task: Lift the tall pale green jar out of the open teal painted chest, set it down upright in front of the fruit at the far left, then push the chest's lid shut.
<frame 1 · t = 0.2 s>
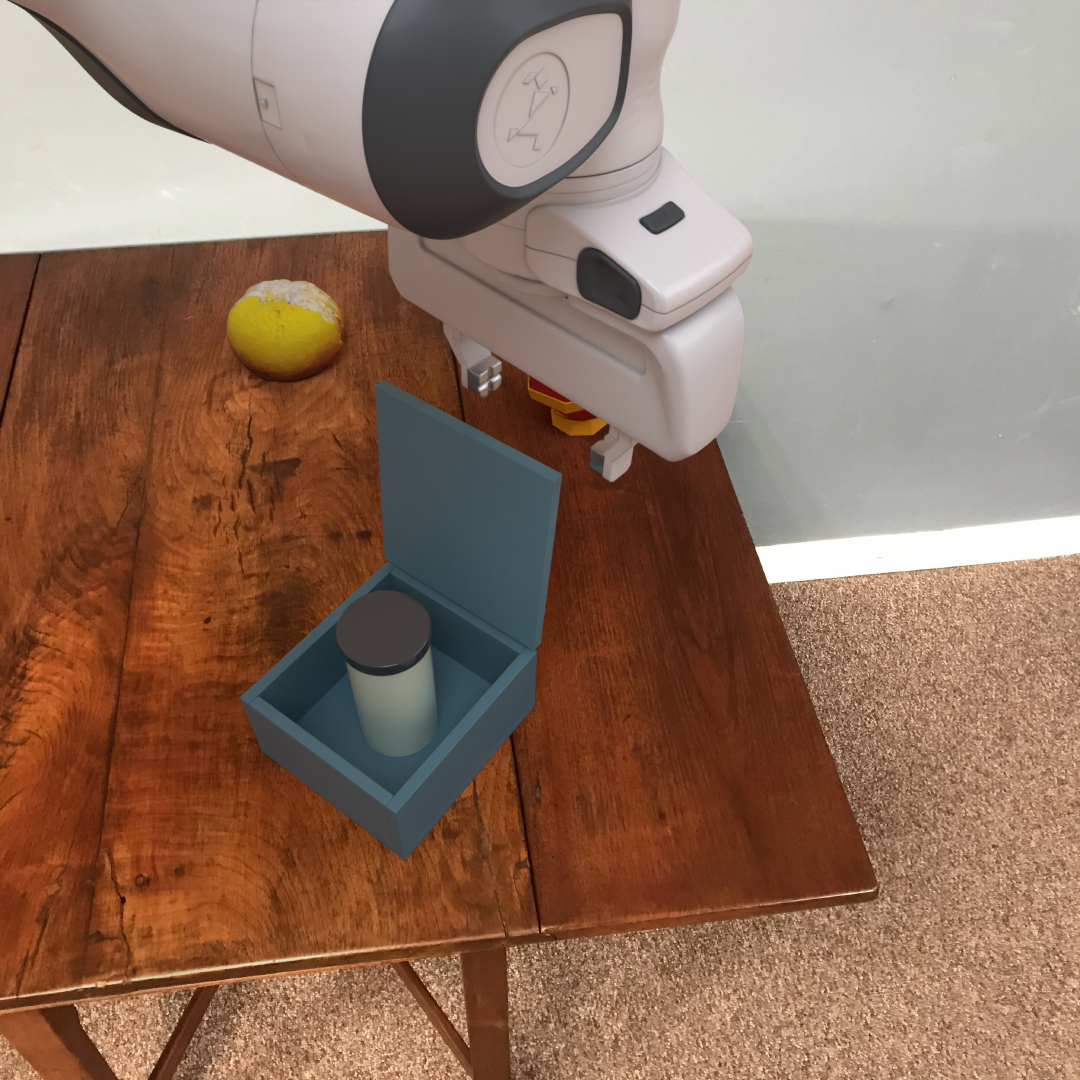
hand: (543, 427, 51), 22 cm above the table, tool pointing down, fingers open, 8 cm apart
chest: (400, 728, 64), on the table
potion bottle: (579, 417, 85), on the table
lid: (462, 521, 57), point 14 cm above the table, hinge at 95.0°
fruit: (292, 350, 90), on the table
jar: (399, 722, 63), point 1 cm above the table, touching chest
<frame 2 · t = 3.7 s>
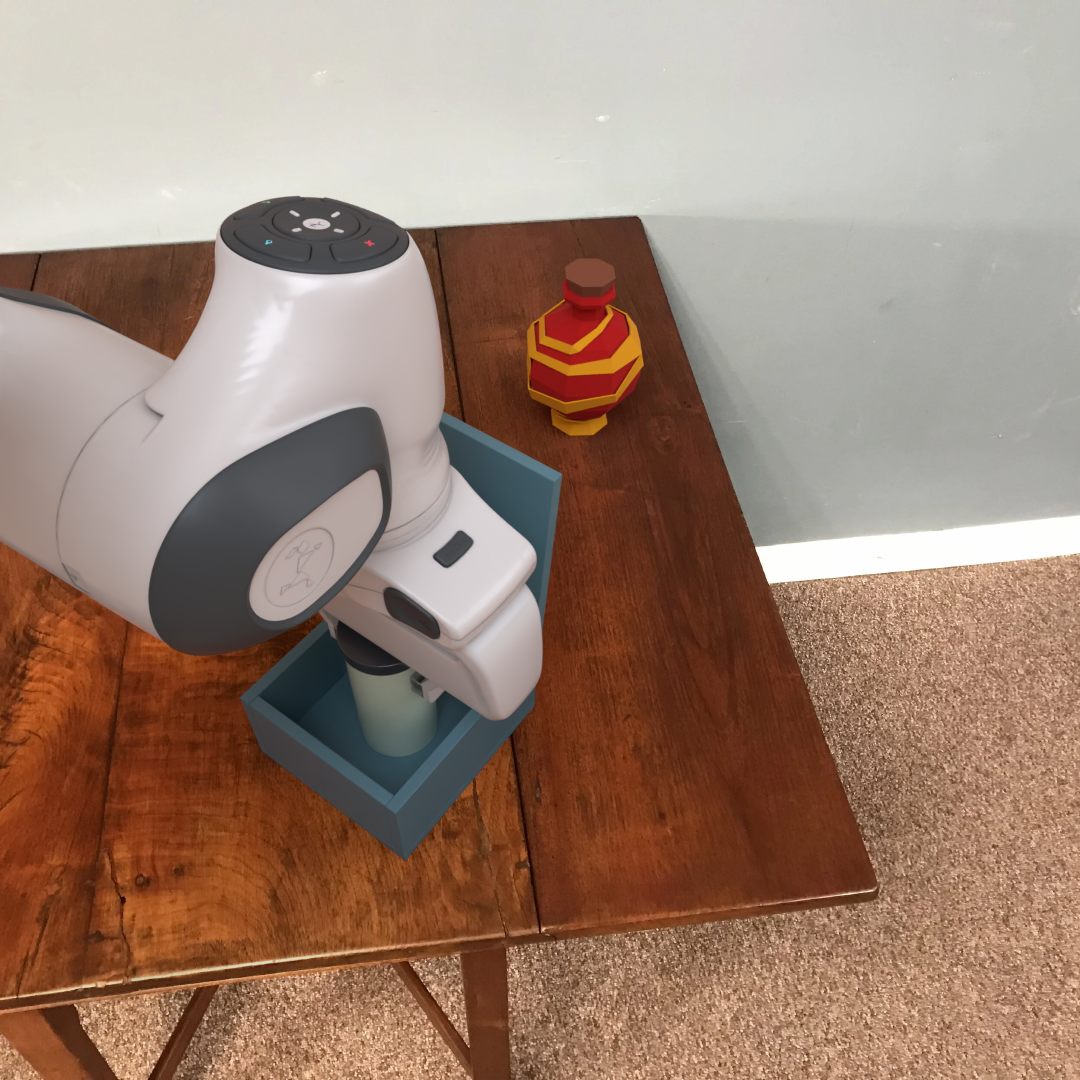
hand: (390, 662, 57), 8 cm above the table, tool pointing down, fingers closed on jar, 5 cm apart
jar: (399, 722, 63), point 1 cm above the table, touching chest, gripper
everything else where it was.
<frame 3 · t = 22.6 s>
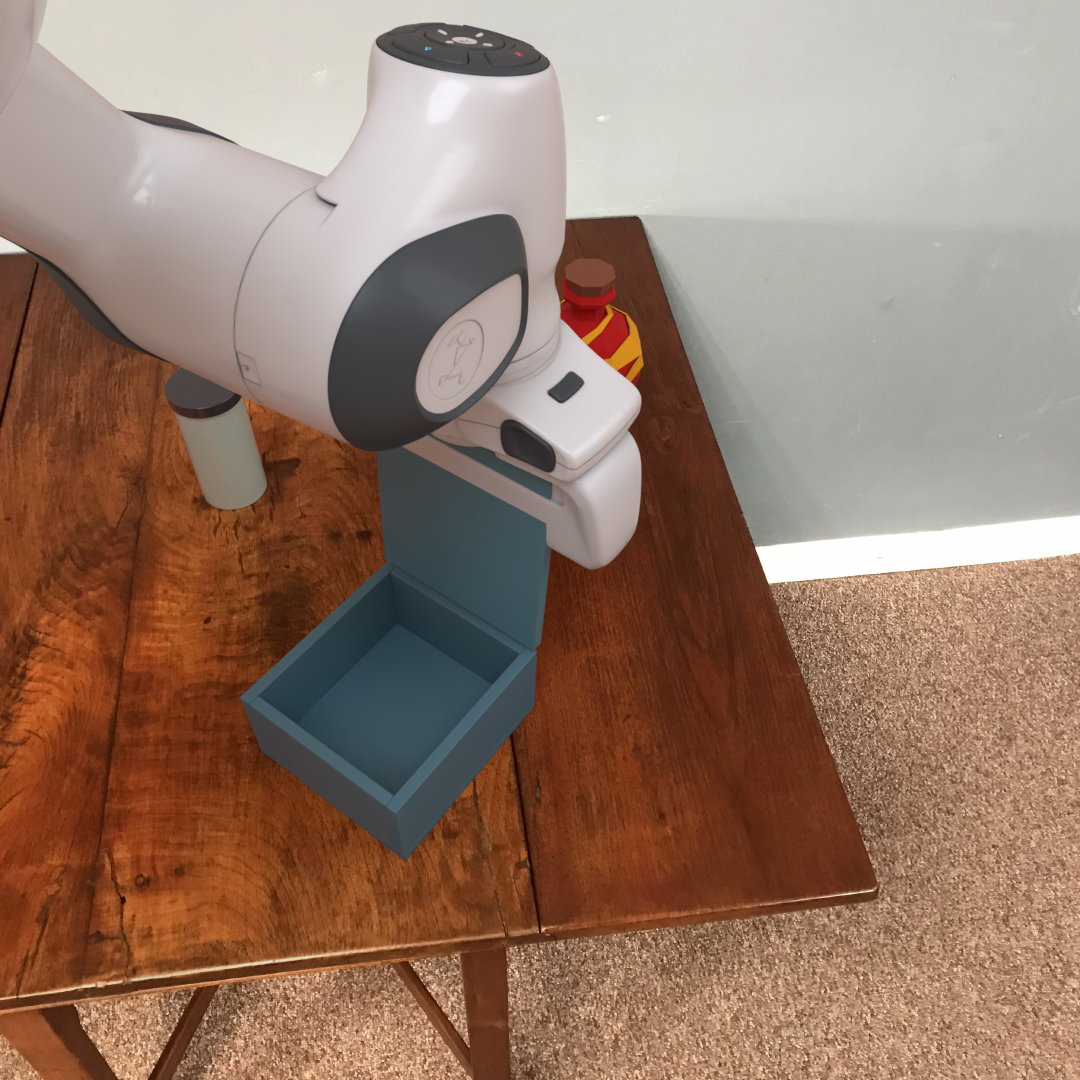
hand: (478, 533, 59), 12 cm above the table, tool pointing down, fingers closed, pressing on lid
lid: (460, 522, 57), point 14 cm above the table, hinge at 93.9°, touching gripper
jar: (235, 486, 78), on the table
everything else where it was.
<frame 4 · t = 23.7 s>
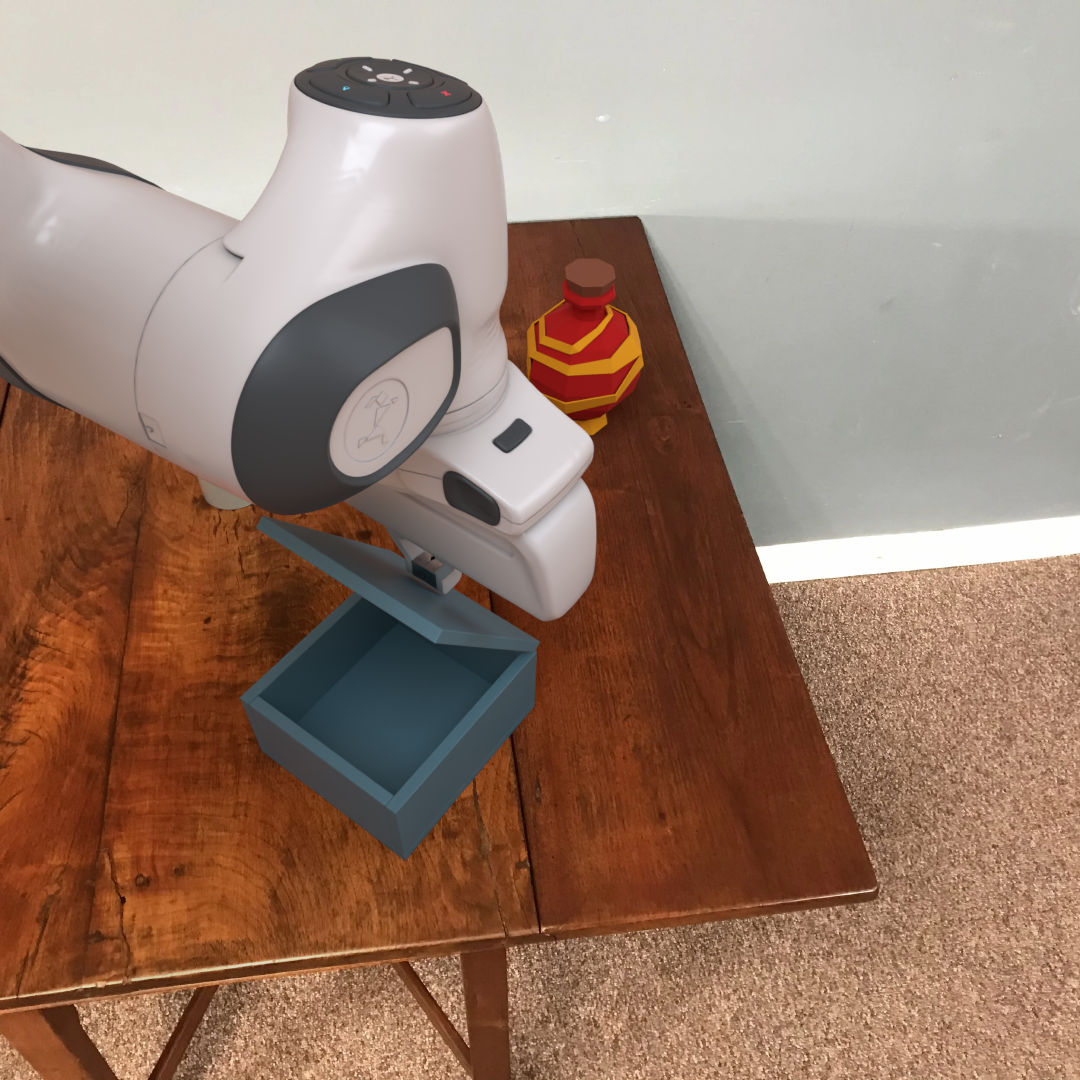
hand: (434, 576, 57), 12 cm above the table, tool pointing down, fingers closed, pressing on lid
lid: (409, 589, 55), point 13 cm above the table, hinge at 52.1°, touching gripper
everything else where it was.
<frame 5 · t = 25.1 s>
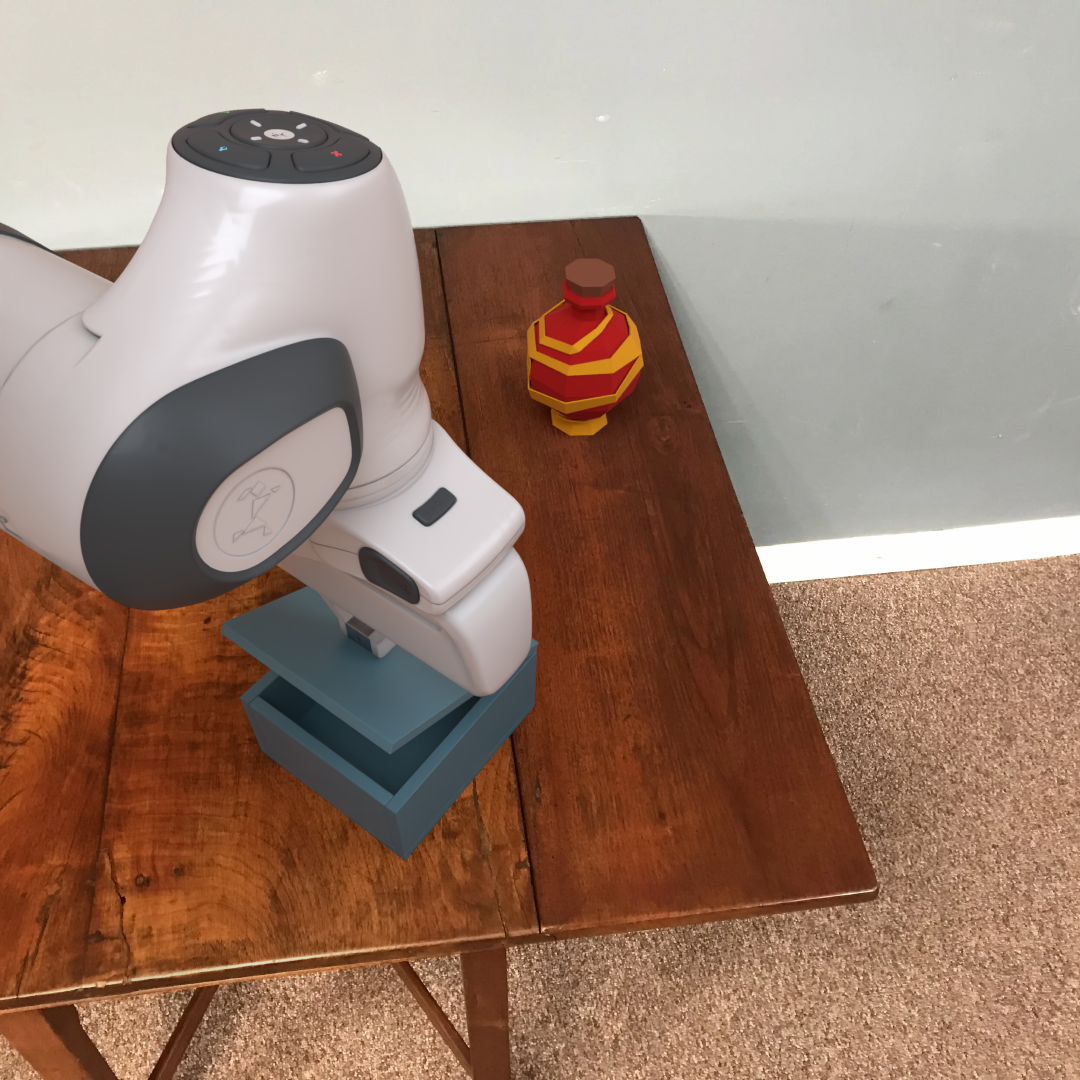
hand: (371, 638, 54), 12 cm above the table, tool pointing down, fingers closed
lid: (389, 638, 56), point 10 cm above the table, hinge at 25.4°
everything else where it was.
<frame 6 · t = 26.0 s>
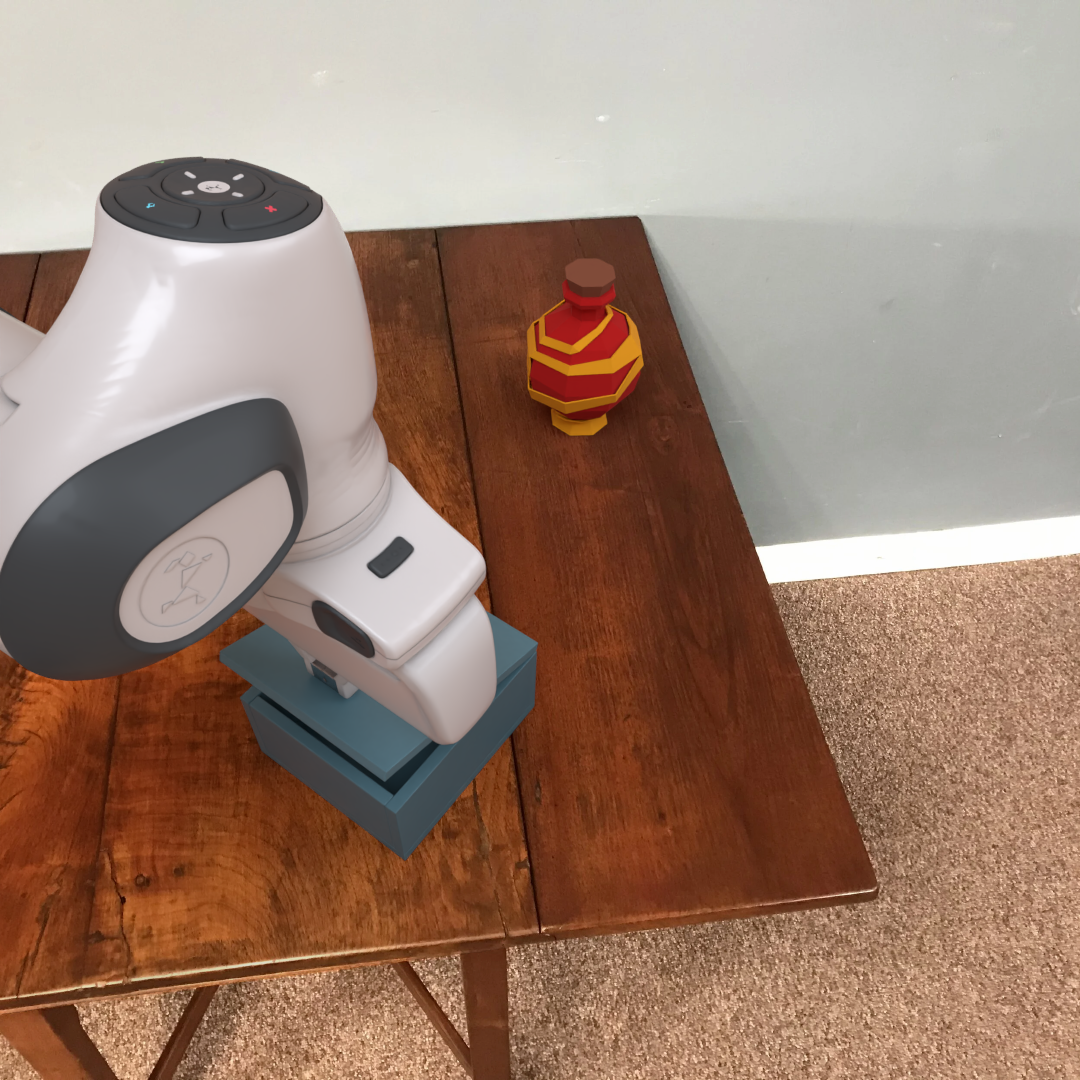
hand: (338, 677, 53), 11 cm above the table, tool pointing down, fingers closed, pressing on lid
lid: (386, 651, 56), point 9 cm above the table, hinge at 17.2°, touching gripper
everything else where it was.
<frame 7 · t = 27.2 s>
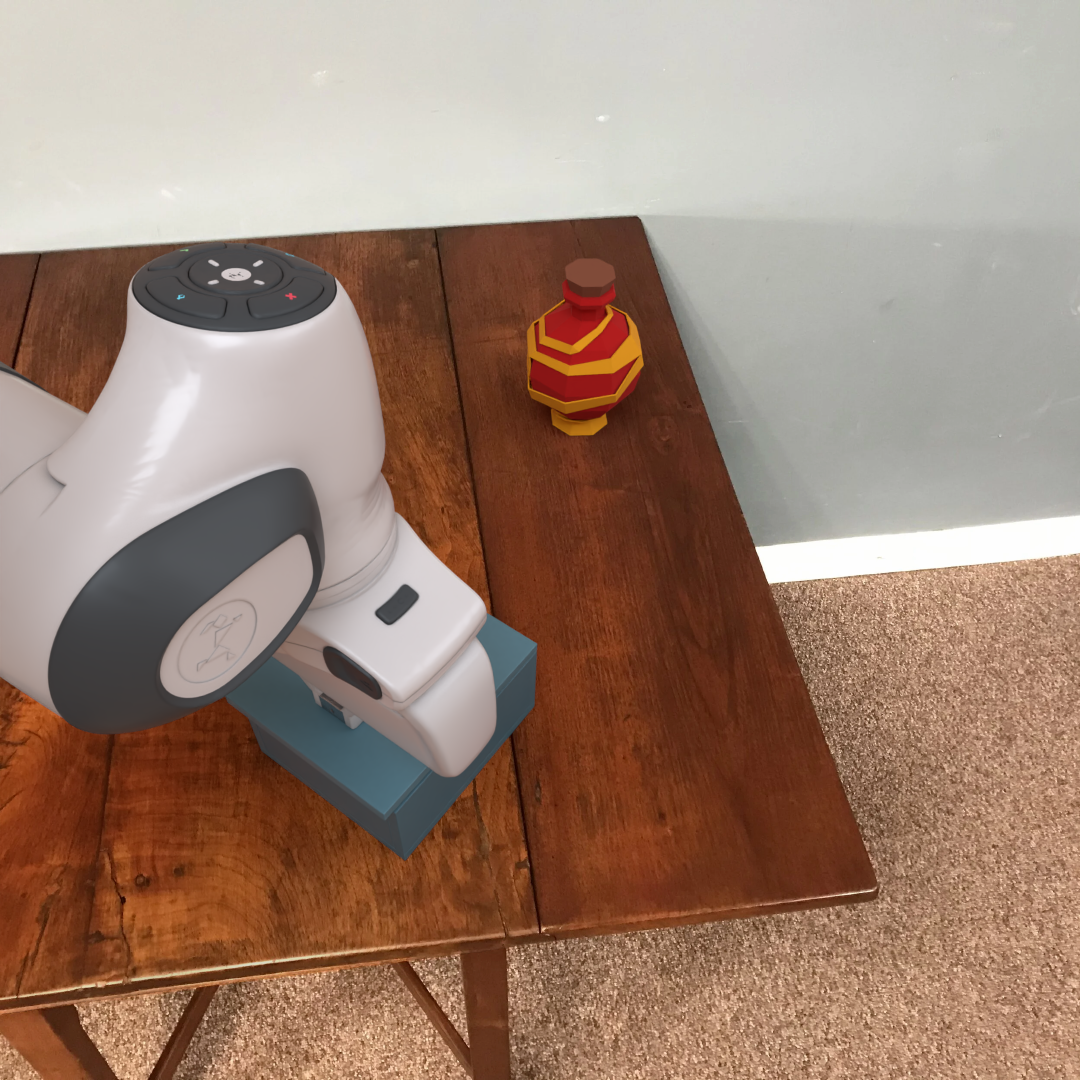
hand: (345, 708, 55), 8 cm above the table, tool pointing down, fingers closed, pressing on lid
lid: (386, 672, 58), point 7 cm above the table, hinge at 1.7°, touching gripper
everything else where it was.
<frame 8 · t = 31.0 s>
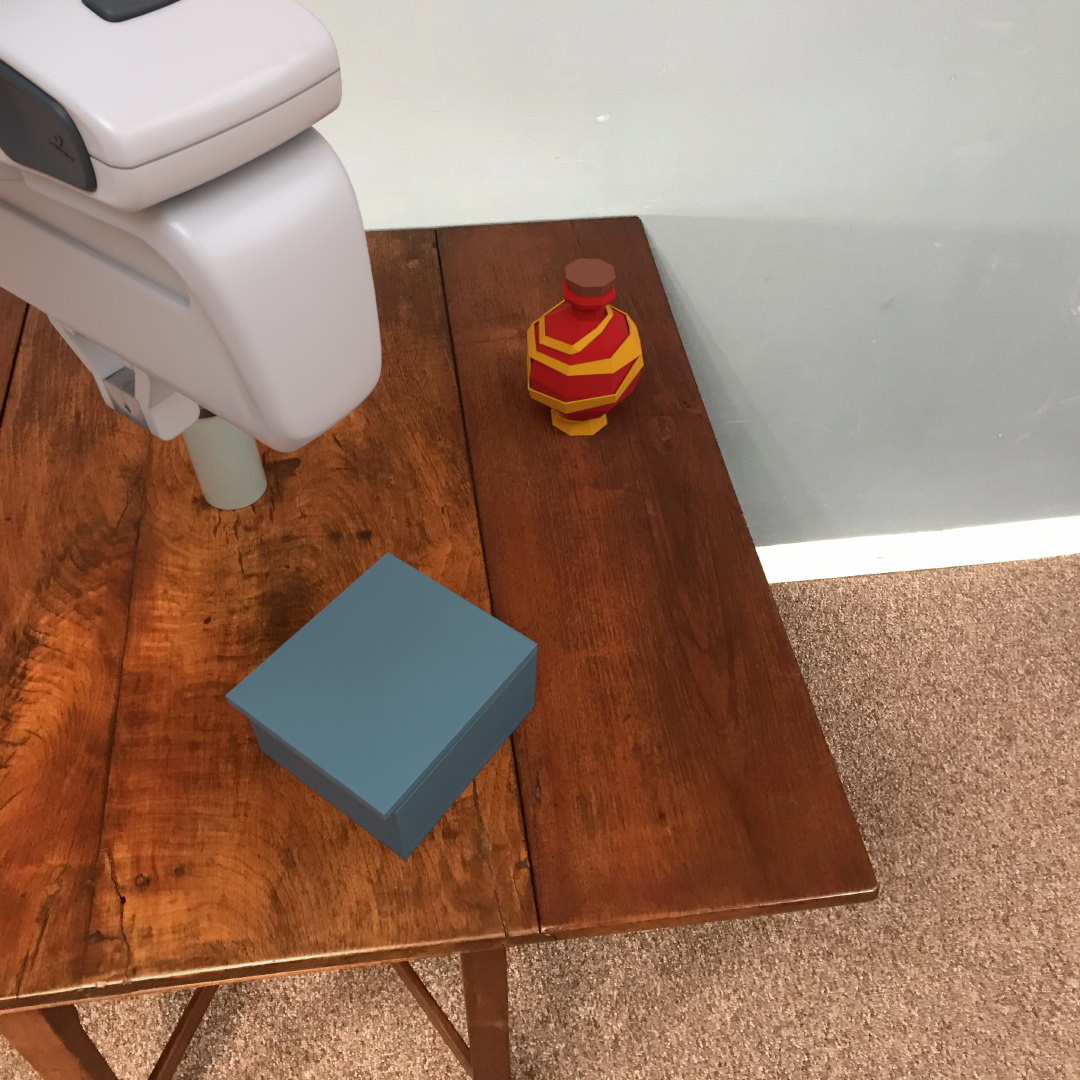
hand: (156, 415, 33), 34 cm above the table, tool pointing down, fingers closed
lid: (386, 672, 58), point 7 cm above the table, hinge at 1.6°
everything else where it was.
at the end: jar inside the target area on the table beside the fruit (0.1 cm from its centre), on the table; jar tilted 0°; lid at +2° (first picture: +95°) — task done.
